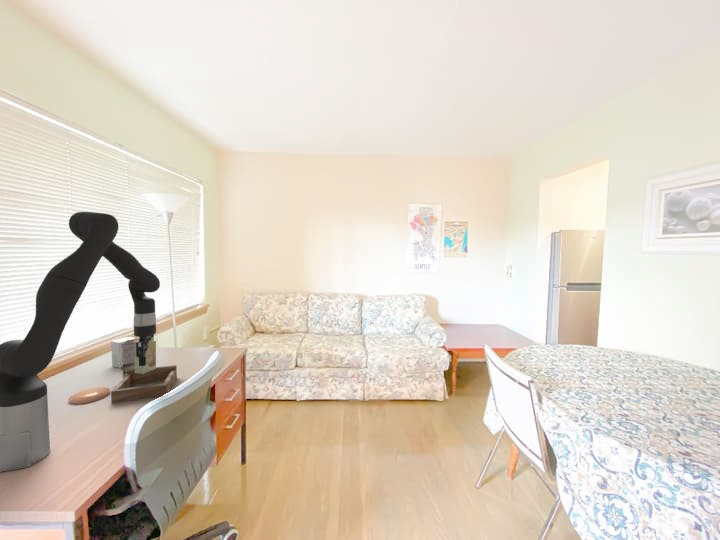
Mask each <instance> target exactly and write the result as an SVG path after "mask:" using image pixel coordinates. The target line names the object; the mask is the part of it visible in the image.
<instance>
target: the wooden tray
mask: <svg viewBox="0 0 720 540" xmlns="http://www.w3.org/2000/svg"><path fill="white" fill-rule="evenodd" d="M177 366H178V365H177V364H173V365H163V366H156V369H154V370H151V371H149V372H146V373H144V374H141V373H135V369H132V370H128V375H127V376H126V377H125V378H124V379H123V378H122V379H121V381H119V383H118V384H117V385H116V386H115V387H114V388H113V389H112V390H110V398H111V399H110V400H111V401H110V403H111V404H115V403H123V402H130V401H131V402H132V401H138V400H145V399H152V398H160V396H161V397H163V396H162V395H164V394H166V393H167V392H168V393H169V392H170V390H171V388H172V387H173V385H174V384H175V382H176V381H177V377H178V376H177V375H178V374H177V373H178V372H177V371H178V370H177ZM162 380H164V381H163V383H159V384H157V383H156V384H151V385H142V386H133V387H131V386H132V385H137V384H145V383H153V382H161V381H162ZM174 381H175V382H174ZM173 383H174V384H173Z"/></svg>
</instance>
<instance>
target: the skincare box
mask: <svg viewBox="0 0 720 540" xmlns="http://www.w3.org/2000/svg"><path fill="white" fill-rule="evenodd" d="M145 348H146V346H144V349H145ZM141 354H142V351H141ZM156 361H157V340H155V339H154V340H152V341H150V344H149V349H148V351H147V352H146V365H145V366H139V357H136V344H135V373H141V374H144V373H146V372H149V371H151V370H154V369H156V367H157V362H156Z"/></svg>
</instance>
